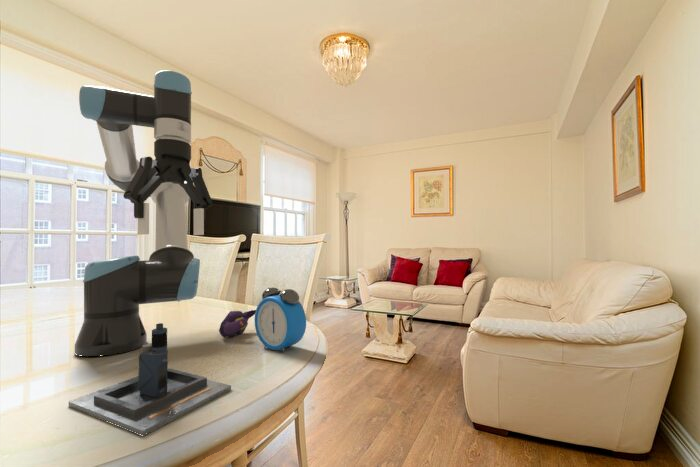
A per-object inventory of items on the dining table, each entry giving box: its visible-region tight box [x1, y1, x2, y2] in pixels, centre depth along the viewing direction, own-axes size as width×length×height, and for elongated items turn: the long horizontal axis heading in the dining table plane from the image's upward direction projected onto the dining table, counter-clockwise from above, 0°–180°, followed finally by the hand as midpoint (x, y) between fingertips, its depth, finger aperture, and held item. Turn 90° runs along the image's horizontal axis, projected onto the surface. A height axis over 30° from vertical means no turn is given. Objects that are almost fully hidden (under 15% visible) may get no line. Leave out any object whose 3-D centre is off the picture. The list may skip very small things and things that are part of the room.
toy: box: [218, 309, 256, 338], centre depth 96 cm, size 11×12×7 cm
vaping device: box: [138, 322, 169, 397], centre depth 58 cm, size 3×5×12 cm, turn 70°
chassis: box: [68, 367, 232, 436], centre depth 58 cm, size 20×16×2 cm
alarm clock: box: [254, 286, 307, 353], centre depth 84 cm, size 13×6×15 cm, turn 55°
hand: (173, 234), depth 76 cm, fingers open, 13 cm apart
